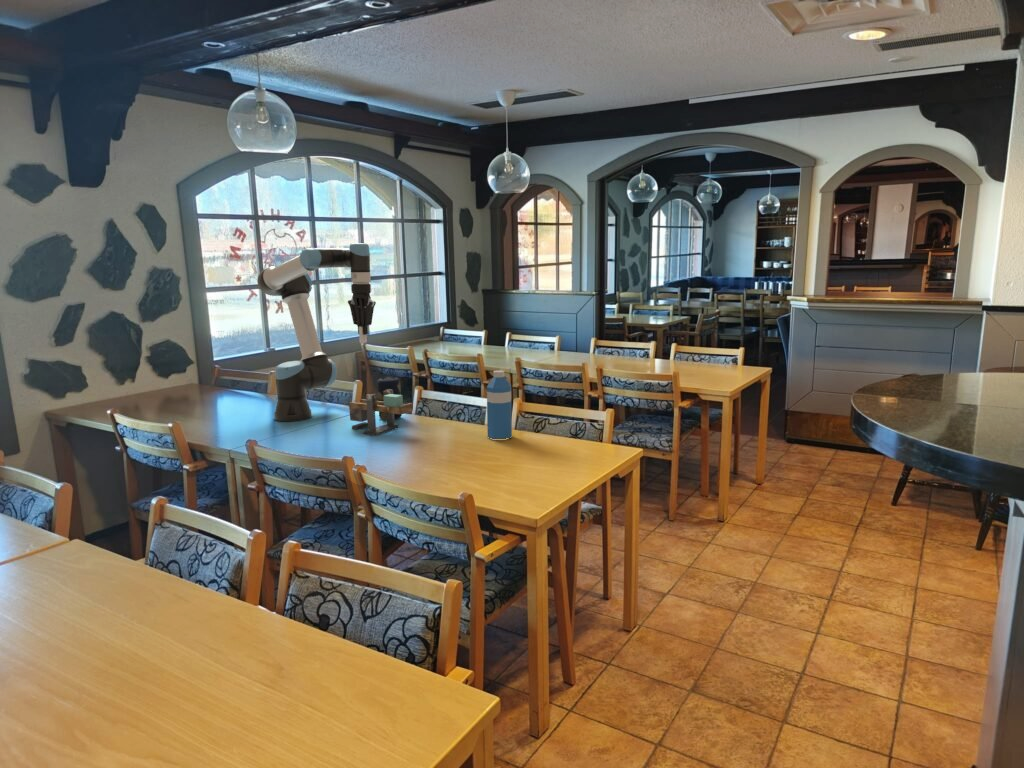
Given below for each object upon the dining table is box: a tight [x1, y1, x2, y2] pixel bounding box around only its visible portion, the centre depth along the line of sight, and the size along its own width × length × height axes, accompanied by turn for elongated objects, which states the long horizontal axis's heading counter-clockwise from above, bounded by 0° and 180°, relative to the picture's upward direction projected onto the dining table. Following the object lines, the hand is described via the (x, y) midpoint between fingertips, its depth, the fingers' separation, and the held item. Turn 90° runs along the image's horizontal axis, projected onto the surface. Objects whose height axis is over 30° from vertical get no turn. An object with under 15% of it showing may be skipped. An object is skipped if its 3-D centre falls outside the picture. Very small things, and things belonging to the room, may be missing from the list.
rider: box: [383, 394, 404, 408], centre depth 259 cm, size 6×4×5 cm, turn 60°
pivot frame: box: [363, 389, 400, 436], centre depth 263 cm, size 6×14×15 cm, turn 150°
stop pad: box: [351, 421, 368, 431], centre depth 270 cm, size 3×7×1 cm, turn 150°
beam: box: [348, 391, 414, 423], centre depth 263 cm, size 26×9×12 cm, turn 60°
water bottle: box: [486, 369, 513, 439], centre depth 251 cm, size 9×9×25 cm
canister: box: [376, 375, 403, 421], centre depth 282 cm, size 10×10×18 cm
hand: (363, 342), depth 272 cm, fingers closed
